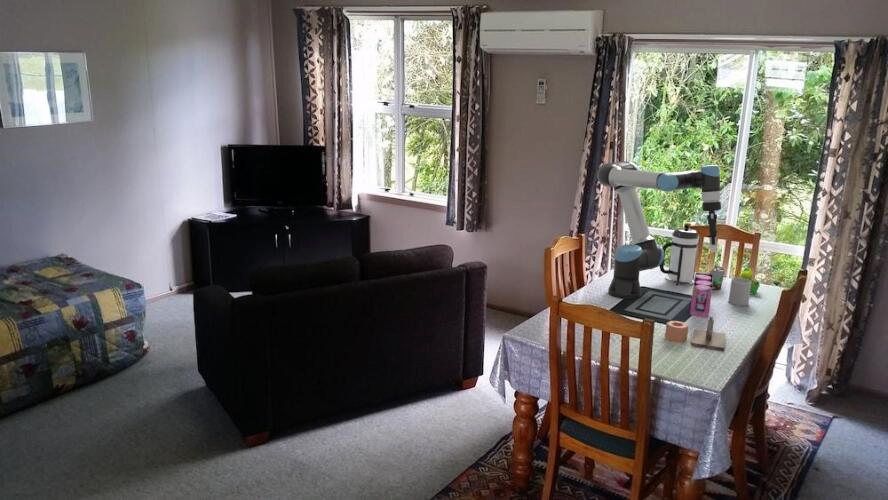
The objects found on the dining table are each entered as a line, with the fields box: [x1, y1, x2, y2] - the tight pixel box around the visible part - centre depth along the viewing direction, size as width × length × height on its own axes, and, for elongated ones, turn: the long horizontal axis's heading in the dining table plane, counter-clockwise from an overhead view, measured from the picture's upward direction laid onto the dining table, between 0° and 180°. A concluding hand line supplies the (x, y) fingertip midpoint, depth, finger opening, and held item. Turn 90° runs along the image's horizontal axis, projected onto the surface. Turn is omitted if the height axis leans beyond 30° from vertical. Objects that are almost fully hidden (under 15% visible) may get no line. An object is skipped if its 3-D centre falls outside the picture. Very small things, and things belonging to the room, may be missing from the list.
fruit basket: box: [740, 267, 761, 295], centre depth 327 cm, size 11×9×11 cm
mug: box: [728, 277, 751, 307], centre depth 311 cm, size 12×8×11 cm
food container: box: [709, 265, 726, 291], centre depth 330 cm, size 12×6×10 cm, turn 148°
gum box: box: [689, 272, 713, 319], centre depth 300 cm, size 24×8×14 cm, turn 158°
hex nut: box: [664, 320, 689, 344], centre depth 267 cm, size 7×8×6 cm
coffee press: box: [659, 223, 700, 287], centre depth 336 cm, size 17×16×30 cm
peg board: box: [690, 315, 726, 352], centre depth 265 cm, size 12×16×10 cm
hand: (713, 250), depth 292 cm, fingers open, 13 cm apart
